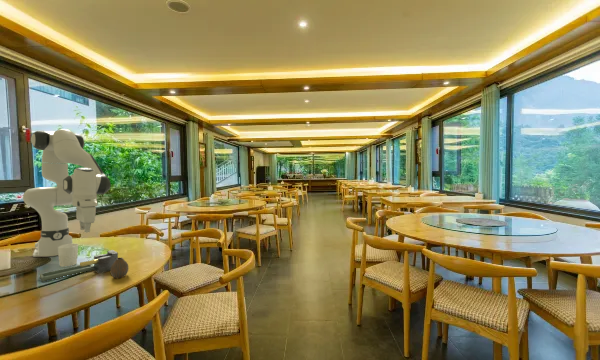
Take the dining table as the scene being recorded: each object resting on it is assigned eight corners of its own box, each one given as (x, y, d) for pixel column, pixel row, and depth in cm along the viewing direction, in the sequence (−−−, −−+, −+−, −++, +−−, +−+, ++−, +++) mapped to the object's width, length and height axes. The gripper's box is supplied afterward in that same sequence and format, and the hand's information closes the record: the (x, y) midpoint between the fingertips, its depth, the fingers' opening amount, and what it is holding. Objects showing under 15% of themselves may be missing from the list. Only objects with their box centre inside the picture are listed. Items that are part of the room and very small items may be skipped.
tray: (39, 278, 119) (39, 273, 119) (89, 267, 133) (89, 263, 133) (42, 282, 115) (42, 277, 115) (93, 270, 129) (93, 266, 129)
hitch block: (93, 269, 130) (93, 253, 130) (112, 265, 136) (112, 250, 136) (98, 273, 126) (98, 256, 125) (117, 268, 132) (117, 252, 132)
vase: (131, 275, 125) (131, 256, 125) (117, 280, 118) (117, 261, 118) (121, 272, 127) (121, 255, 127) (106, 278, 120) (107, 259, 120)
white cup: (66, 268, 131) (66, 248, 131) (53, 266, 133) (53, 247, 133) (82, 262, 139) (82, 244, 139) (70, 261, 141) (70, 243, 140)
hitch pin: (81, 266, 122) (80, 262, 122) (79, 267, 123) (79, 262, 124) (115, 259, 133) (115, 255, 134) (114, 259, 135) (114, 255, 135)
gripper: (72, 201, 128) (72, 229, 128) (80, 203, 115) (80, 234, 115) (88, 200, 133) (88, 227, 133) (98, 202, 120) (98, 232, 120)
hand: (85, 230), depth 124 cm, fingers open, 8 cm apart
